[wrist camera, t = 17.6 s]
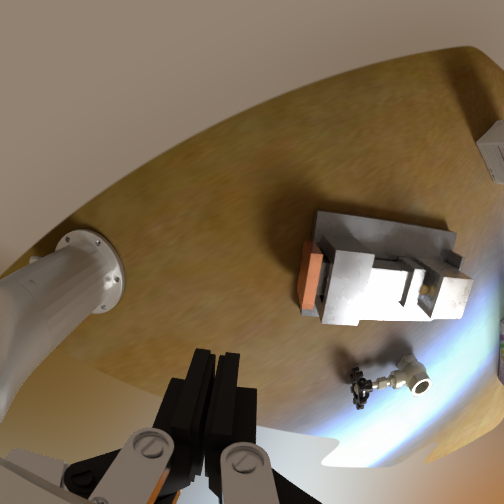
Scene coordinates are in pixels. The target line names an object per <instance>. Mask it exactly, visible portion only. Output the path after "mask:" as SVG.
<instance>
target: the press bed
mask: <svg viewBox="0 0 504 504" xmlns="http://www.w3.org/2000/svg"><path fill="white" fill-rule="evenodd" d="M456 234H457V233H455V232H452V231H450V230H446V229H441V228H436V227H430V226H425V225H419V224H414V223H408V222H402V221H396V220H390V219H384V218H378V217H371V216H365V215H358V214H351V213H344V212H337V211H330V210H322V209H315V212H314V219H313V226H312V233H311V240H310V241H314V242H315V243H316V245H317V246H318V248H319V249H320V251H321V252H322V254H325V255H326V256H327V258H328V259H329V261H330V262H331V263H330V269H329V274H328V279H327V285H326V290H325V295H324V296H319V295H316V296H315V301H314V306H313V310H309V309H301V305H300V307H299V309H300V313H301V315H303V316H316V317H319V318H320V321H321V324H338V325H358V322H359V319H370V320H401V321H432V320H433V319H431V318H430V317H429V316H428V315H427V314H426V313H425V312H424V311H423V310H422V309H421V308H420V307H419V306H418V305H417V304H416V307H415V309H404V308H403V307H402V306H401V305H400V303H399V302H398V301H391V300H374V299H365V295H366V291H367V287H368V283H369V279H370V274H371V270H372V265H373V261H374V259H376V260H385V261H394V262H397V261H398V257H406V258H410V259H411V260H413V261H414V262H415V259H416V258H422V259H430V260H438V261H445V262H446V263H448V264H450V265H451V266H453V267H455V268H456V269H458V270H459V271H462V267H463V263H464V259H465V258H464V257H462V256H461V255H459V254H457V253H455V252H453V248H454V244H455V239H456Z"/></svg>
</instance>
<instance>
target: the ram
mask: <svg viewBox="0 0 504 504" xmlns="http://www.w3.org/2000/svg"><path fill="white" fill-rule="evenodd" d="M330 263H331V262H330V261H329V259H328V258H327V256H326V255H325V254H322V252H321V251H320V249H319V248H318V246H317V245H316V243H315V242H314V241H306V240H304V245H303V251H302V258H301V265H300V271H299V277H298V284H297V292H298V297H299V301H300V305H301V309H309V310H313V306H314V301H315V296H316V295H319V296H324V295H325V290H326V285H327V279H328V274H329V269H330ZM425 273H426V270H425V269H424V268H422V267H421V266H420V265H418V264H417V263H415V262H414V261H413V260H411V259H410V258H406V257H398V261H397V262H394V261H385V260H376V259H374V261H373V265H372V270H371V274H370V279H369V283H368V287H367V291H366V295H365V299H374V300H391V301H398V302H399V303H400V305H401V306H402V307H403V308H404V309H415V307H416V304H417V301H418V297H419V294H420V291H421V287H422V284H423V280H424V276H425Z"/></svg>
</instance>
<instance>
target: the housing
mask: <svg viewBox="0 0 504 504" xmlns="http://www.w3.org/2000/svg"><path fill="white" fill-rule="evenodd" d="M415 263H417V264H418V265H420V266H421V267H422V268H424V269H425V270H426V273H425V276H424V280H423V284H422V287H421V291H420V294H419V297H418V301H417V305H418V306H419V307H420V308H421V309H422V310H423V311H424V312H425V313H426V314H427V315H428V316H429V317H430V318H431V319H461V317H462V314H463V311H464V308H465V305H466V303H467V300H468V296H469V293H470V290H471V287H472V284H473V279H472V278H470V277H469V276H467V275H465V274H464V273H462V272H461V271H459V270H458V269H456V268H455V267H453V266H451V265H450V264H448V263H446V262H445V261H438V260H430V259H422V258H416V259H415Z"/></svg>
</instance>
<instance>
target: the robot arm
mask: <svg viewBox="0 0 504 504" xmlns="http://www.w3.org/2000/svg"><path fill="white" fill-rule="evenodd" d="M124 285H125V275H124V270H123V266H122V263H121V260H120V258H119V256H118V254H117V252H116V250H115V249H114V248H113V246H112V245H111V244H110V243H109V242H108V241H107V240H106V239H105V238H104V237H103V236H101V235H100V234H99V233H96V232H94V231H92V230H88V229H77V230H74V231H71V232H69V233H67V234H66V235H65V236H63V237H62V238H61V240H60V241H59V242H58V245H57V247H56V249H55V252H53V253H50V254H48V255H46V256H44V257H41V256H35V255H33V256H31V258H30V264H29V265H27V266H25V267H23V268H21V269H19V270H17V271H16V272H14V273H12V274H10V275H8V276H6V277H5V278H3V279H1V280H0V424H1V422H2V420H3V418H4V416H5V414H6V412H7V410H8V408H9V406H10V404H11V402H12V400H13V398H14V397H15V395H16V393H17V392H18V390H19V389H20V387H21V386H22V384H23V383H24V381H25V380H26V379H27V378H28V376H29V375H30V374H31V373H32V371H34V369H35V368H36V367H37V366H38V365H39V364H40V363H41V362H42V361H43V360H44V359H45V358H46V356H48V355H49V354H50V353H51V352H52V351H53V350H54V349H55V348H56V347H57V346H58V345H59V344H60V343H61V342H62V341H63V340H64V339H65V338H66V337H67V336H68V335H69V334H70V333H71V332H72V331H73V330H74V329H75V328H76V327H77V326H78V325H79V324H80V323H81V322H82V321H83V320H84V319H85V318H86V317H87V316H88V315H90V314H91V313H96V314H97V313H104V312H107V311H109V310H110V309H112V308H113V307H114V306H115V305H116V304H117V303H118V302H119V300H120V299H121V297H122V294H123V291H124ZM215 359H216V355H215V354H211V351H210V350H205V349H198V348H196V350H195V352H194V355H193V358H192V361H191V364H190V367H189V370H188V373H187V376H186V379H185V380H184V379H178V378H172V379H171V380H170V383H169V385H168V388H167V390H166V393H165V395H164V398H163V401H162V403H161V406H160V409H159V411H158V414H157V416H156V419H155V422H154V424H153V427H152V428H143V429H139V430H137V431H136V432H134V433H133V434H132V435H131V436H130V437H129V439H128V440H127V442H126V443H125V445H124V446H123V448H121V449H118V450H115V451H112V452H109V453H106V454H103V455H100V456H97V457H94V458H90V459H87V460H83V461H80V462H77V463H74V464H67V463H66V462H65V461H63V460H59V459H54V458H51V457H47V456H43V455H40V454H36V453H33V452H29V451H26V450H23V449H14V450H12V451H10V452H9V453H8V454H7V456H6V459H3V458H0V504H176V502H177V500H178V498H179V496H180V494H181V489H183V488H185V487H187V486H189V485H190V483H191V481H192V482H194V479H195V475H199V476H200V475H201V472H202V466H203V460H204V455H205V476H206V477H209V489H210V490H212V492H213V493H214V494H215V495H216V496H218V501H219V504H322V503H321V502H319V501H318V500H316V499H315V498H313V497H311V496H310V495H309V494H307V493H305V492H304V491H303V490H301V489H300V488H298V487H297V486H296V485H294V484H293V483H291V482H290V481H288V480H287V479H286V478H284V477H283V476H282V475H280V474H279V473H278V472H276V471H275V470H274V469H272V468H271V464H270V459H269V456H268V454H267V452H266V451H265V450H264V449H263V448H261V447H259V446H258V445H256V412H257V389H255V388H244V387H237V378H238V368H239V359H240V354H238V353H229V352H226V354H225V356H223V355H220V356H219V361H218V366H217V371H216V376H215Z"/></svg>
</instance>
